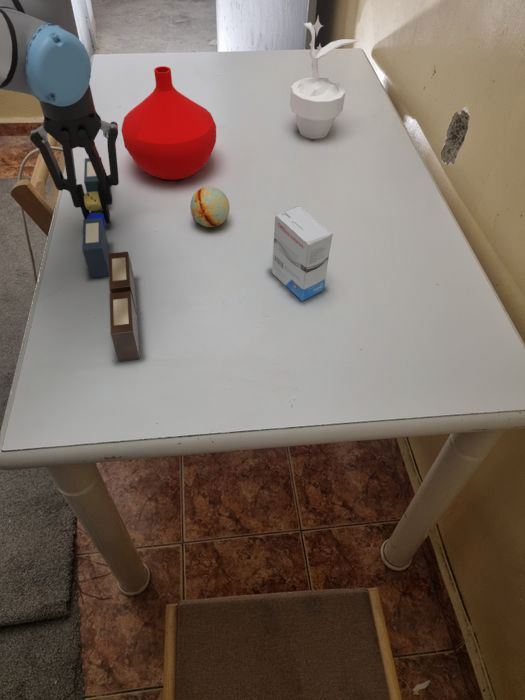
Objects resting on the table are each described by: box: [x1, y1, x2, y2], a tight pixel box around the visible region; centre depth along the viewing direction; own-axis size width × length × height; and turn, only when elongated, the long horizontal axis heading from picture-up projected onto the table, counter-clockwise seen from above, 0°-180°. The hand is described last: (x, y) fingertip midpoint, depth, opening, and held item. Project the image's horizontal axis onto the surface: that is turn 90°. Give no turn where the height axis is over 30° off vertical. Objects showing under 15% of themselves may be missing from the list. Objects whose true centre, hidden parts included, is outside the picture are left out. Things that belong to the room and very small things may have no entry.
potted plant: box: [289, 14, 359, 140], centre depth 108 cm, size 13×12×25 cm
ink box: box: [271, 205, 334, 302], centre depth 82 cm, size 8×5×12 cm, turn 34°
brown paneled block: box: [108, 251, 141, 363], centre depth 77 cm, size 3×17×6 cm, turn 11°
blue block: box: [81, 156, 110, 279], centre depth 91 cm, size 3×27×6 cm, turn 11°
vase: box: [121, 65, 217, 181], centre depth 100 cm, size 18×18×19 cm
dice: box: [84, 192, 107, 229], centre depth 91 cm, size 8×3×6 cm, turn 11°
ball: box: [189, 186, 231, 228], centre depth 93 cm, size 7×7×7 cm
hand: (98, 219), depth 92 cm, fingers closed on dice, 3 cm apart
